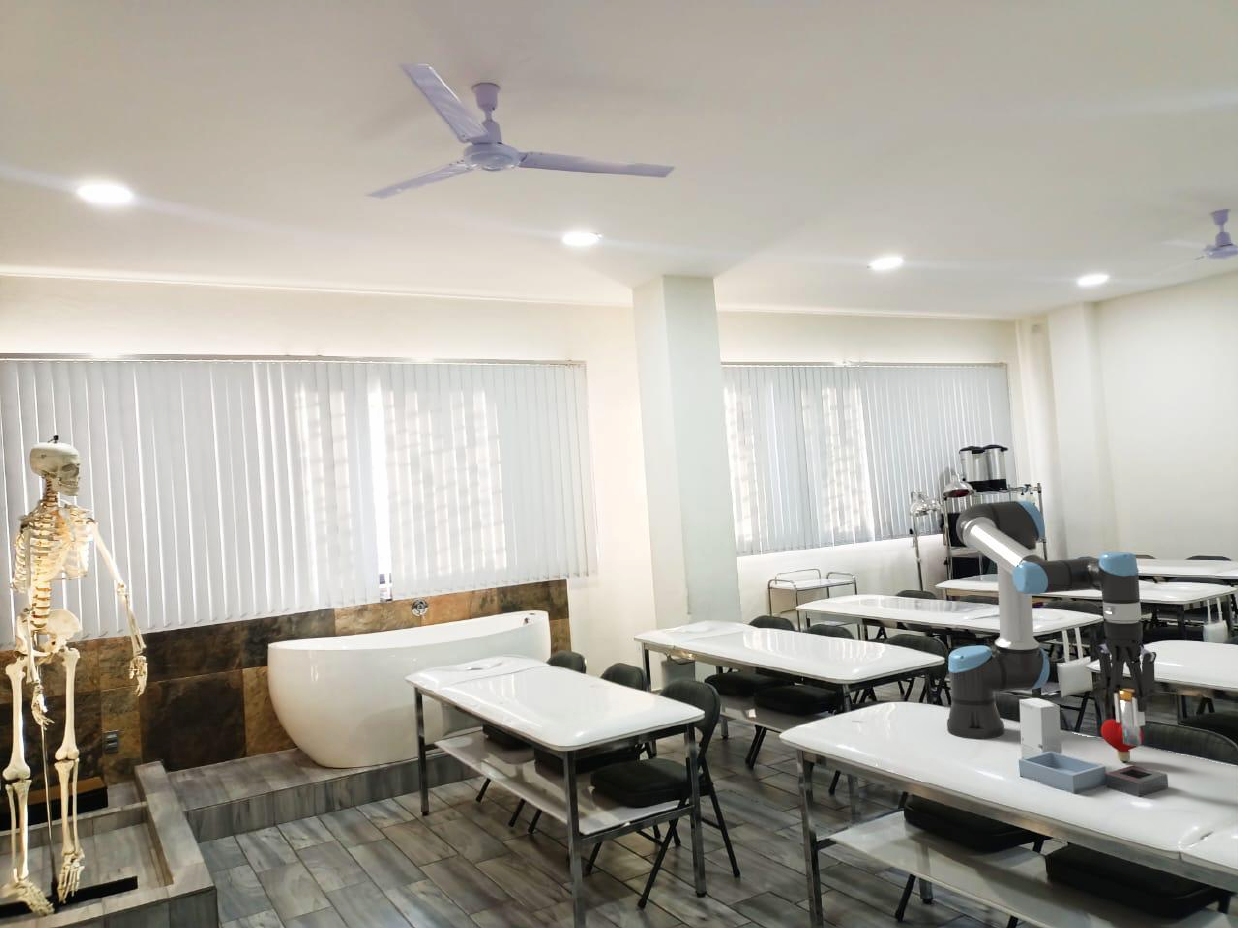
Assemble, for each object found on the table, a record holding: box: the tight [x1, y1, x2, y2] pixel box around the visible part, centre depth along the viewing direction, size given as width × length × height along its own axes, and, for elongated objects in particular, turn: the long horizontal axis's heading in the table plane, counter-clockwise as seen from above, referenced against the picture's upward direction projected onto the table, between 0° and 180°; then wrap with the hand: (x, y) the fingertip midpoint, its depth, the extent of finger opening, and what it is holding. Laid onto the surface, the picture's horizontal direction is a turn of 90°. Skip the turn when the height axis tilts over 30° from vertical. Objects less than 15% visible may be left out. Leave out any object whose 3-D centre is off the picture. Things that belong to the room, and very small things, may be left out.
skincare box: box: [1018, 697, 1063, 759], centre depth 221 cm, size 8×6×15 cm
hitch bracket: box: [1105, 764, 1169, 798], centre depth 199 cm, size 8×10×3 cm
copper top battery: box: [1119, 688, 1142, 747], centre depth 199 cm, size 4×4×12 cm
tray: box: [1018, 751, 1107, 795], centre depth 206 cm, size 15×11×4 cm
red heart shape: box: [1100, 718, 1144, 763], centre depth 216 cm, size 9×7×10 cm
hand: (1130, 722), depth 199 cm, fingers closed on copper top battery, 4 cm apart
